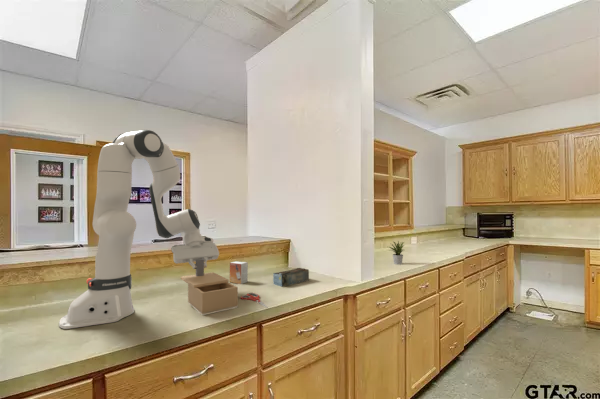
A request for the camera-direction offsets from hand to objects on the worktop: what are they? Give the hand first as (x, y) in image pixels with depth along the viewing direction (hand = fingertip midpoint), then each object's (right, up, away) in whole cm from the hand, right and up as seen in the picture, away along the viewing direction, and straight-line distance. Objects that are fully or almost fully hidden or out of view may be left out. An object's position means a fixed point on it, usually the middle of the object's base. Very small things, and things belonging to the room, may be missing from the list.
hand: (200, 267), depth 133 cm
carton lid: (+3, -5, -5) cm, 7 cm away
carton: (+9, -12, -13) cm, 20 cm away
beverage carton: (+40, -14, +24) cm, 49 cm away
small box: (+12, -14, +24) cm, 30 cm away
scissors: (+28, -13, -8) cm, 32 cm away
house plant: (+114, -14, +75) cm, 137 cm away
